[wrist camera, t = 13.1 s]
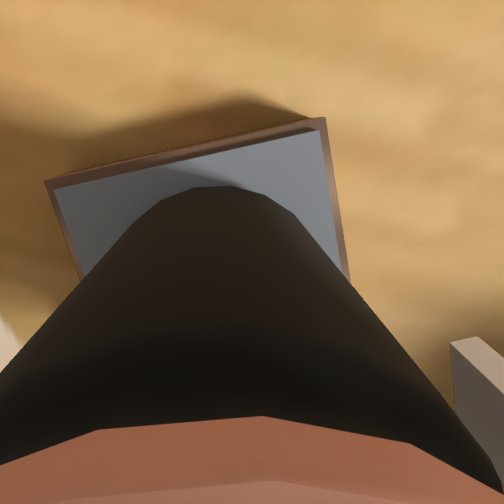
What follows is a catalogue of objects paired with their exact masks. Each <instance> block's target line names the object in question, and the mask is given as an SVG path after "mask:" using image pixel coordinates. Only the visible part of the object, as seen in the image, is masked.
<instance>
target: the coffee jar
mask: <svg viewBox="0 0 504 504" xmlns="http://www.w3.org/2000/svg"><path fill="white" fill-rule="evenodd" d="M0 504H504V493H503V489H502V484H501V480H500V478H499V476H498V474H497V472H496V470H495V467H494V465H493V463H492V461H491V459H490V458H489V456H488V455H487V454H486V452H485V451H484V450H483V449H482V447H481V446H480V445H479V443H478V442H477V441H476V440H475V438H474V437H473V436H472V434H471V433H470V432H469V431H468V429H467V428H466V427H465V425H464V424H463V423H462V421H461V420H460V419H459V418H458V416H457V415H456V414H455V412H454V411H453V410H452V409H451V407H450V406H449V405H448V403H447V402H446V401H445V400H444V398H443V397H442V396H441V394H440V393H439V392H438V391H437V389H436V388H435V387H434V386H433V385H432V383H431V382H430V381H429V380H428V378H427V377H426V376H425V375H424V373H423V372H422V371H421V370H420V369H419V367H418V366H417V365H416V364H415V362H414V361H413V360H412V359H411V357H410V356H409V355H408V354H407V353H406V351H405V350H404V349H403V348H402V346H401V345H400V344H399V343H398V341H397V340H396V339H395V338H394V336H393V335H392V334H391V333H390V332H389V330H388V329H387V328H386V327H385V325H384V324H383V323H382V322H381V320H380V319H379V318H378V317H377V316H376V314H375V313H374V312H373V311H372V309H371V308H370V307H369V306H368V304H367V303H366V302H365V301H364V300H363V298H362V297H361V296H360V295H359V293H358V292H357V291H356V290H355V288H354V287H353V286H352V285H351V284H350V282H349V281H348V280H347V279H346V277H345V276H344V275H343V274H342V272H341V271H340V270H339V269H338V268H337V266H336V265H335V264H334V263H333V261H332V260H331V259H330V258H329V256H328V255H327V254H326V253H325V251H324V250H323V249H322V248H321V247H320V245H319V244H318V243H317V242H316V240H315V239H314V238H313V237H312V235H311V234H310V233H309V232H308V231H307V229H306V228H305V227H304V226H303V224H302V223H301V222H300V221H299V219H298V218H297V217H296V216H295V215H294V214H293V213H292V212H290V211H289V210H287V209H286V208H284V207H283V206H281V205H280V204H278V203H277V202H275V201H274V200H272V199H271V198H269V197H267V196H266V195H264V194H260V193H256V192H253V191H249V190H245V189H241V188H238V187H234V186H212V187H193V188H191V189H188V190H186V191H183V192H181V193H178V194H175V195H173V196H170V197H168V198H165V199H162V200H160V201H159V202H157V203H156V204H155V205H154V206H153V207H151V208H150V209H149V210H148V211H147V212H145V213H144V214H143V215H142V216H141V217H139V218H138V219H137V220H136V221H135V222H133V223H132V224H131V226H130V227H129V228H128V229H127V230H126V231H125V232H124V233H123V235H122V236H121V237H120V238H119V239H118V240H117V241H116V243H115V244H114V245H113V246H112V247H111V248H110V249H109V250H108V252H107V253H106V254H105V255H104V256H103V257H102V258H101V259H100V261H99V262H98V263H97V264H96V265H95V266H94V267H93V269H92V270H91V271H90V272H89V273H88V274H87V275H86V276H85V278H84V279H83V280H82V281H81V282H80V283H79V284H78V286H77V287H76V288H75V289H74V290H73V291H72V292H71V293H70V295H69V296H68V297H67V298H66V299H65V300H64V301H63V302H62V304H61V305H60V306H59V307H58V308H57V309H56V310H55V312H54V313H53V314H52V315H51V316H50V317H49V318H48V319H47V321H46V322H45V323H44V324H43V325H42V326H41V327H40V329H39V330H38V331H37V332H36V333H35V334H34V335H33V336H32V338H31V339H30V340H29V341H28V342H27V343H26V344H25V345H24V347H23V348H22V349H21V350H20V351H19V352H18V353H17V355H16V356H15V357H14V358H13V359H12V360H11V361H10V362H9V364H8V365H7V366H6V367H5V368H4V369H3V370H2V372H1V373H0Z"/></svg>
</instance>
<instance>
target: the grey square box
mask: <svg viewBox="0 0 504 504" xmlns="http://www.w3.org/2000/svg"><path fill="white" fill-rule="evenodd" d="M44 183H45V186H46V188H47V191H48V194H49V197H50V199H51V202H52V205H53V207H54V210H55V213H56V216H57V218H58V221H59V224H60V227H61V229H62V232H63V235H64V237H65V240H66V243H67V246H68V248H69V251H70V254H71V257H72V259H73V262H74V265H75V268H76V270H77V273H78V276H79V278H80V281H82V280H83V279H84V278H85V276H86V275H87V274H88V273H89V272H90V271H91V270H92V269H93V267H94V266H95V265H96V264H97V263H98V262H99V261H100V259H101V258H102V257H103V256H104V255H105V254H106V253H107V252H108V250H109V249H110V248H111V247H112V246H113V245H114V244H115V243H116V241H117V240H118V239H119V238H120V237H121V236H122V235H123V233H124V232H125V231H126V230H127V229H128V228H129V227H130V226H131V224H132V223H133V222H135V221H136V220H137V219H138V218H139V217H141V216H142V215H143V214H144V213H145V212H147V211H148V210H149V209H150V208H151V207H153V206H154V205H155V204H156V203H157V202H159V201H160V200H162V199H165V198H168V197H170V196H173V195H175V194H178V193H181V192H183V191H186V190H188V189H191V188H193V187H212V186H234V187H238V188H241V189H245V190H249V191H253V192H256V193H260V194H264V195H266V196H267V197H269V198H271V199H272V200H274V201H275V202H277V203H278V204H280V205H281V206H283V207H284V208H286V209H287V210H289V211H290V212H292V213H293V214H294V215H295V216H296V217H297V218H298V219H299V221H300V222H301V223H302V224H303V226H304V227H305V228H306V229H307V231H308V232H309V233H310V234H311V235H312V237H313V238H314V239H315V240H316V242H317V243H318V244H319V245H320V247H321V248H322V249H323V250H324V251H325V253H326V254H327V255H328V256H329V258H330V259H331V260H332V261H333V263H334V264H335V265H336V266H337V268H338V269H339V270H340V271H341V272H342V274H343V275H344V276H345V277H346V279H347V280H348V281H349V282H350V284H351V281H350V274H349V268H348V261H347V255H346V248H345V242H344V235H343V229H342V222H341V216H340V209H339V203H338V196H337V190H336V183H335V177H334V170H333V164H332V157H331V151H330V144H329V138H328V131H327V125H326V118H325V117H319V118H308V119H304V120H299V121H295V122H291V123H286V124H282V125H277V126H273V127H269V128H264V129H260V130H255V131H251V132H246V133H242V134H238V135H233V136H229V137H224V138H220V139H216V140H211V141H207V142H202V143H198V144H193V145H189V146H185V147H180V148H176V149H171V150H167V151H163V152H158V153H154V154H149V155H145V156H140V157H136V158H132V159H127V160H123V161H118V162H114V163H110V164H105V165H101V166H96V167H92V168H87V169H83V170H79V171H74V172H70V173H66V174H63V175H60V176H57V177H54V178H51V179H48V180H45V181H44Z"/></svg>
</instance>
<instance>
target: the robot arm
mask: <svg viewBox="0 0 504 504" xmlns="http://www.w3.org/2000/svg"><path fill="white" fill-rule="evenodd" d="M450 352H451V364H452V375H453V387H454V399H455V410H456V415H457V416H458V418H459V419H460V420H461V421H462V423H463V424H464V425H465V427H466V428H467V429H468V431H469V432H470V433H471V434H472V436H473V437H474V438H475V440H476V441H477V442H478V443H479V445H480V446H481V447H482V449H483V450H484V451H485V452H486V454H487V455H488V456H489V458H490V459H491V461H492V463H493V465H494V467H495V470H496V472H497V474H498V476H499V478H500V480H501V483H502V484H503V485H504V358H503V357H502V356H501V355H500V354H498V353H497V352H496V351H495V350H494V349H492V348H491V347H490V346H489V345H487V344H486V343H485V342H484V341H483V340H481V339H480V338H479V337H478V336H476V337H471V338H467V339H462V340H458V341H453V342H450Z"/></svg>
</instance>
